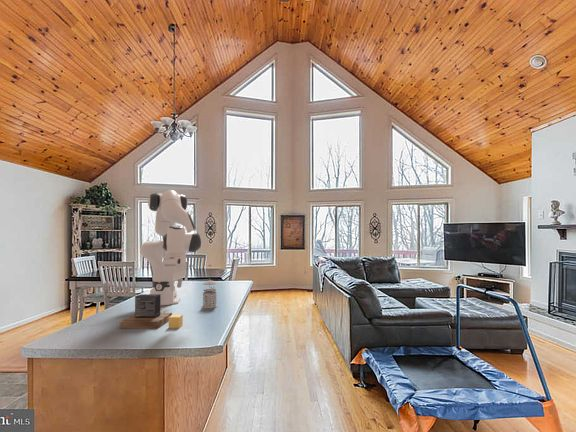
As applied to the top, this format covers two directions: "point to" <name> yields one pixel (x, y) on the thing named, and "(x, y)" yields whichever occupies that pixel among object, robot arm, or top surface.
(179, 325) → the mustard block
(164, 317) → the base board
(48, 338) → the top surface
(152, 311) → the small box
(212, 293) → the french press
